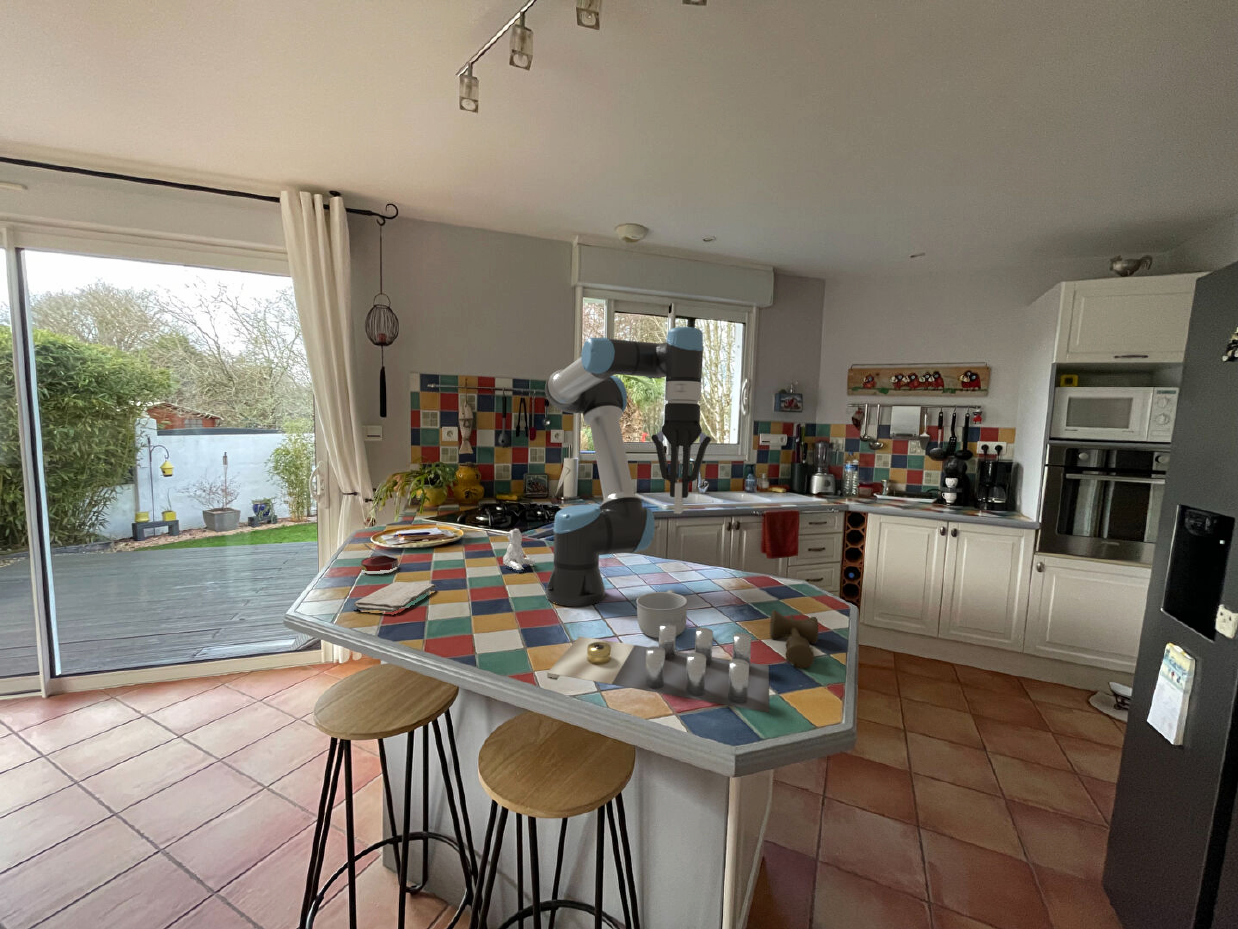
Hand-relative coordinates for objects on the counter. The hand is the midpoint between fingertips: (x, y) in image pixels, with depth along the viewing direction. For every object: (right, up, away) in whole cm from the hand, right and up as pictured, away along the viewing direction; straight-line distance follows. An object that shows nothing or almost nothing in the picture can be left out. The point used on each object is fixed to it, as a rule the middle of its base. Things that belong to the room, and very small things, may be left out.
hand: (678, 512), depth 110 cm
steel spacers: (+1, -27, -19) cm, 33 cm away
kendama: (+24, -28, -4) cm, 37 cm away
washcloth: (-68, -24, +16) cm, 74 cm away
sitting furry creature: (-44, -21, +45) cm, 67 cm away
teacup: (-3, -27, +1) cm, 27 cm away
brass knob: (-17, -27, -14) cm, 34 cm away
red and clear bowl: (-83, -21, +40) cm, 95 cm away
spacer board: (-5, -28, -17) cm, 33 cm away
